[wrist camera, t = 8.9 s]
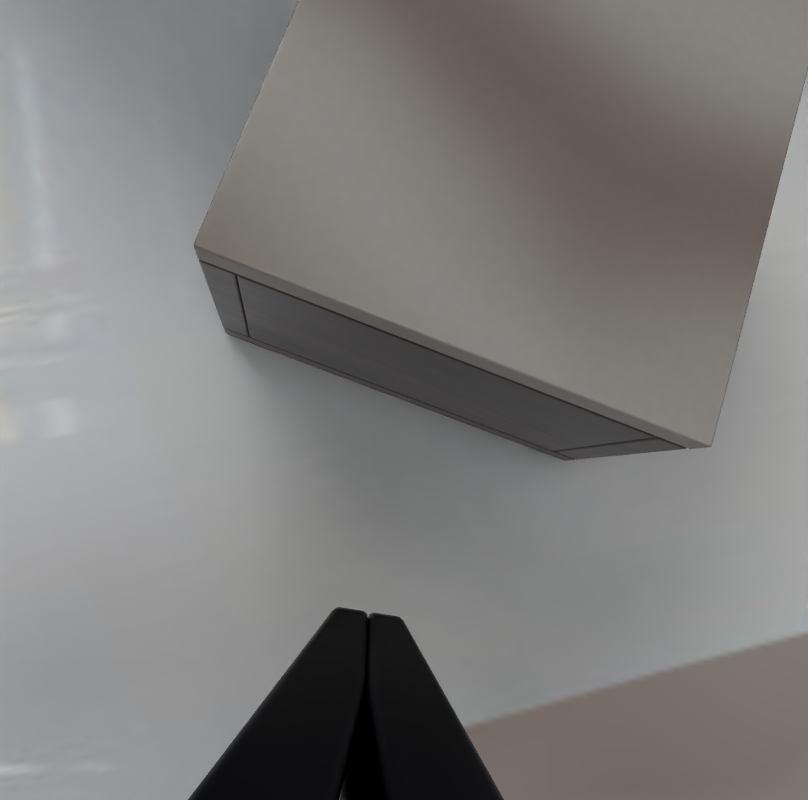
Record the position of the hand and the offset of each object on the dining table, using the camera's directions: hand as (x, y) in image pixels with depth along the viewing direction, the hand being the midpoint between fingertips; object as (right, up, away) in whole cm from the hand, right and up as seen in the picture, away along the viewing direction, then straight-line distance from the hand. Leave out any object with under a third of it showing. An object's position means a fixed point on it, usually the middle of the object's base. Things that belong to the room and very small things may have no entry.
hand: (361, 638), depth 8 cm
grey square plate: (+4, +10, +7) cm, 13 cm away
